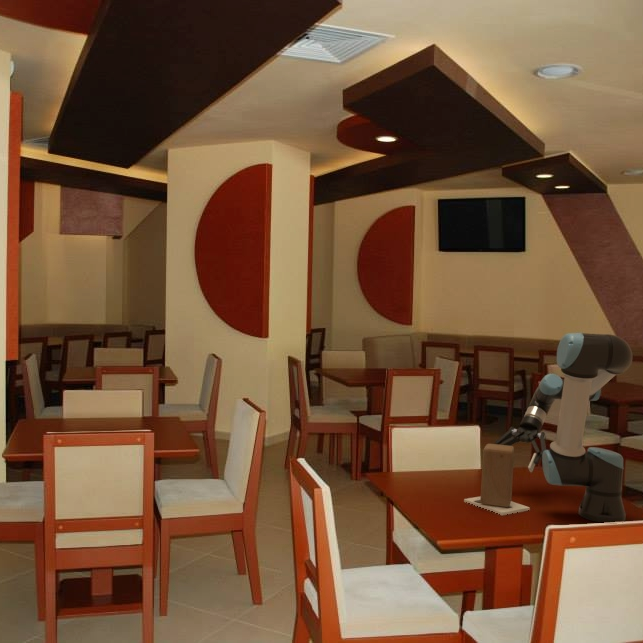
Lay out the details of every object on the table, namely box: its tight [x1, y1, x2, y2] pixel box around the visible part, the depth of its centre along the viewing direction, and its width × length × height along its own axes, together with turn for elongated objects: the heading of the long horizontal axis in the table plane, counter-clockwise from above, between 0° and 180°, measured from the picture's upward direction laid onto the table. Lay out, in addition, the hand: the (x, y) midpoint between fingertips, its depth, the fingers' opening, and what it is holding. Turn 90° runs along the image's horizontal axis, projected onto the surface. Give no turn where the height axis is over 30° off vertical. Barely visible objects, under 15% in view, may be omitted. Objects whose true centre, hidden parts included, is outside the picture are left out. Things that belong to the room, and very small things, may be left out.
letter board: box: [463, 495, 531, 516], centre depth 275 cm, size 18×14×1 cm
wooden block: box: [480, 443, 515, 507], centre depth 274 cm, size 10×10×20 cm
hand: (512, 466), depth 283 cm, fingers open, 13 cm apart
